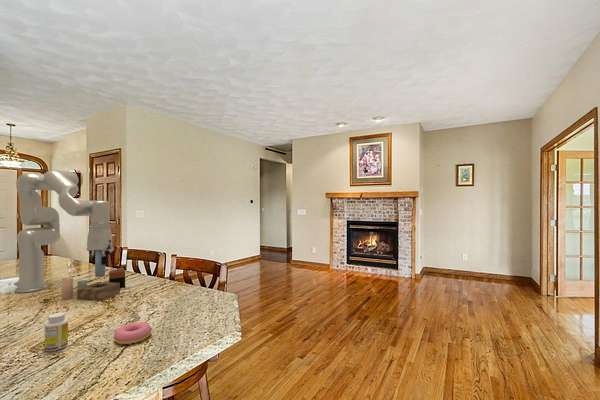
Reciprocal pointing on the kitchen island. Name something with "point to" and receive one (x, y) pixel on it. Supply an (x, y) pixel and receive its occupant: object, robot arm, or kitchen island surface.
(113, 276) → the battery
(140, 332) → the doughnut
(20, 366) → the kitchen island surface
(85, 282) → the short dowel
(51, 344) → the supplement bottle
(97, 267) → the tall dowel
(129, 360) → the kitchen island surface
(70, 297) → the medium dowel
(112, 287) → the hole block
